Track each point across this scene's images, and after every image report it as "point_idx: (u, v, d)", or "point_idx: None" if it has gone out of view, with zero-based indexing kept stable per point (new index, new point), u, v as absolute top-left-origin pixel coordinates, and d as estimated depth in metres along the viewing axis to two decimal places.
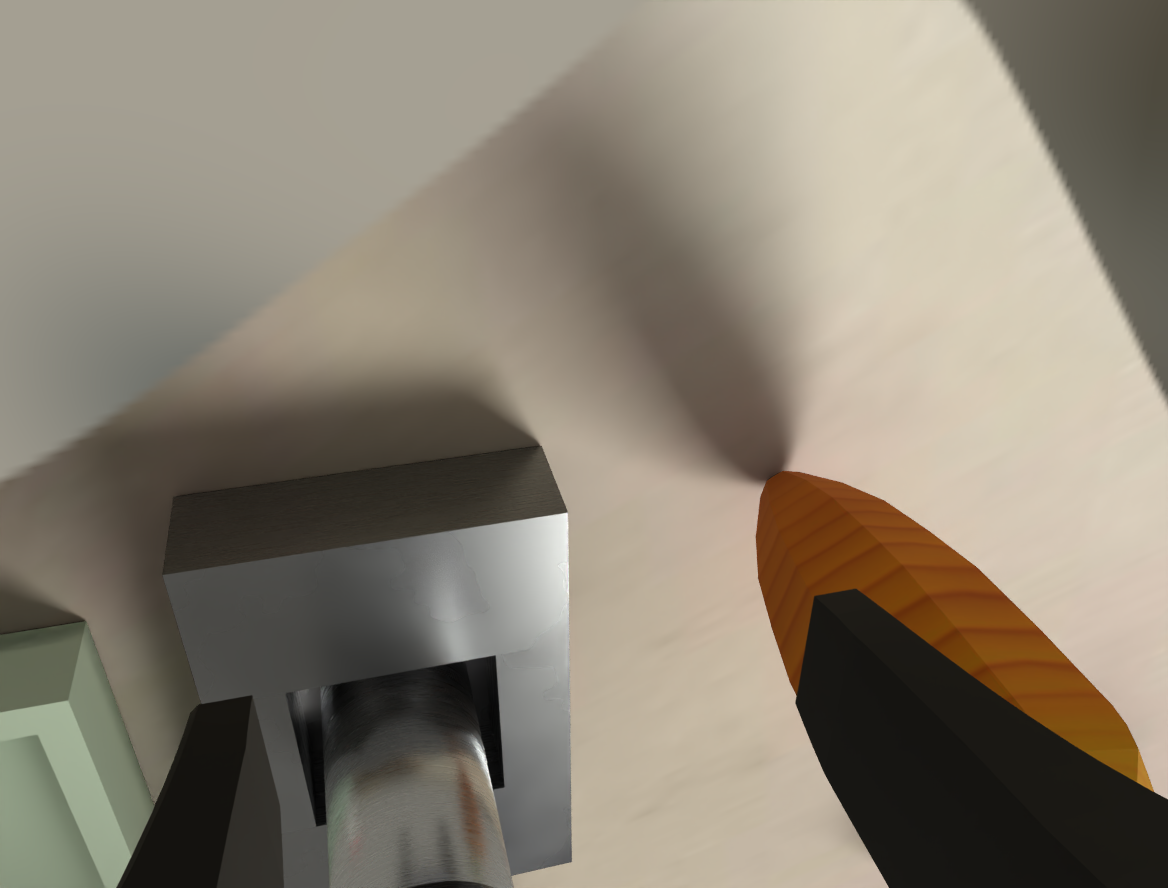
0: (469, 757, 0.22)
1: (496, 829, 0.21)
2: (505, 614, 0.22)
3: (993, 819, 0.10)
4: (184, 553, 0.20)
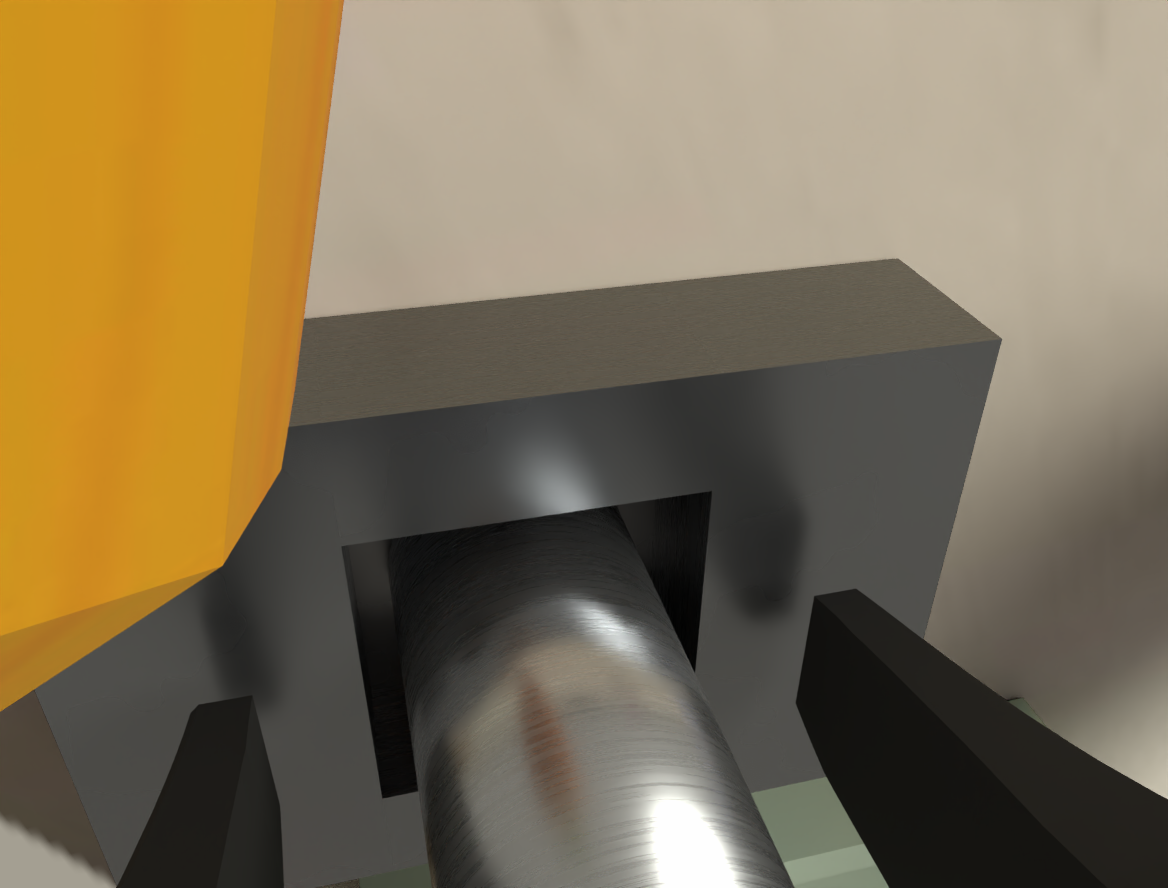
0: (464, 694, 0.11)
1: (532, 784, 0.10)
2: None
3: (993, 819, 0.10)
4: None
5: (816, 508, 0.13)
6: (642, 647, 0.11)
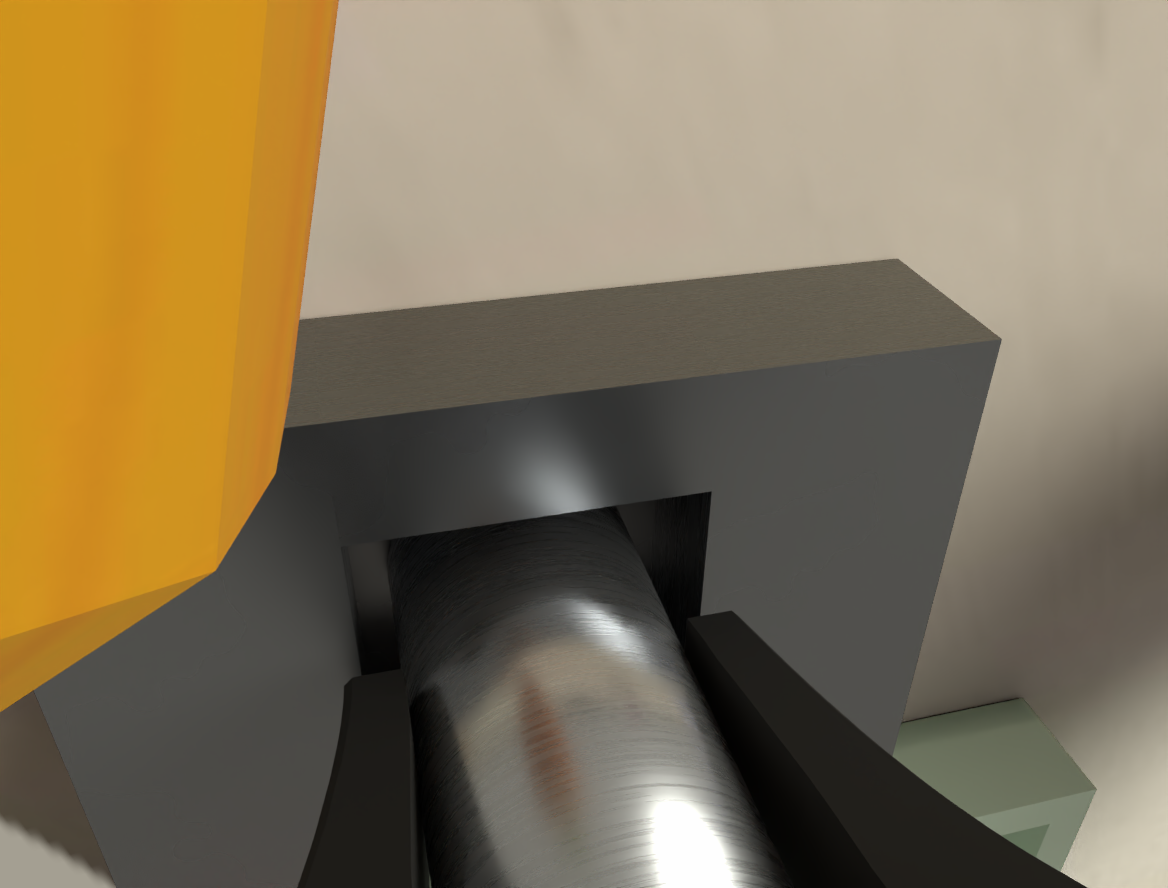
0: (463, 695, 0.11)
1: (532, 785, 0.10)
2: None
3: (833, 857, 0.10)
4: None
5: (816, 508, 0.13)
6: (642, 648, 0.11)
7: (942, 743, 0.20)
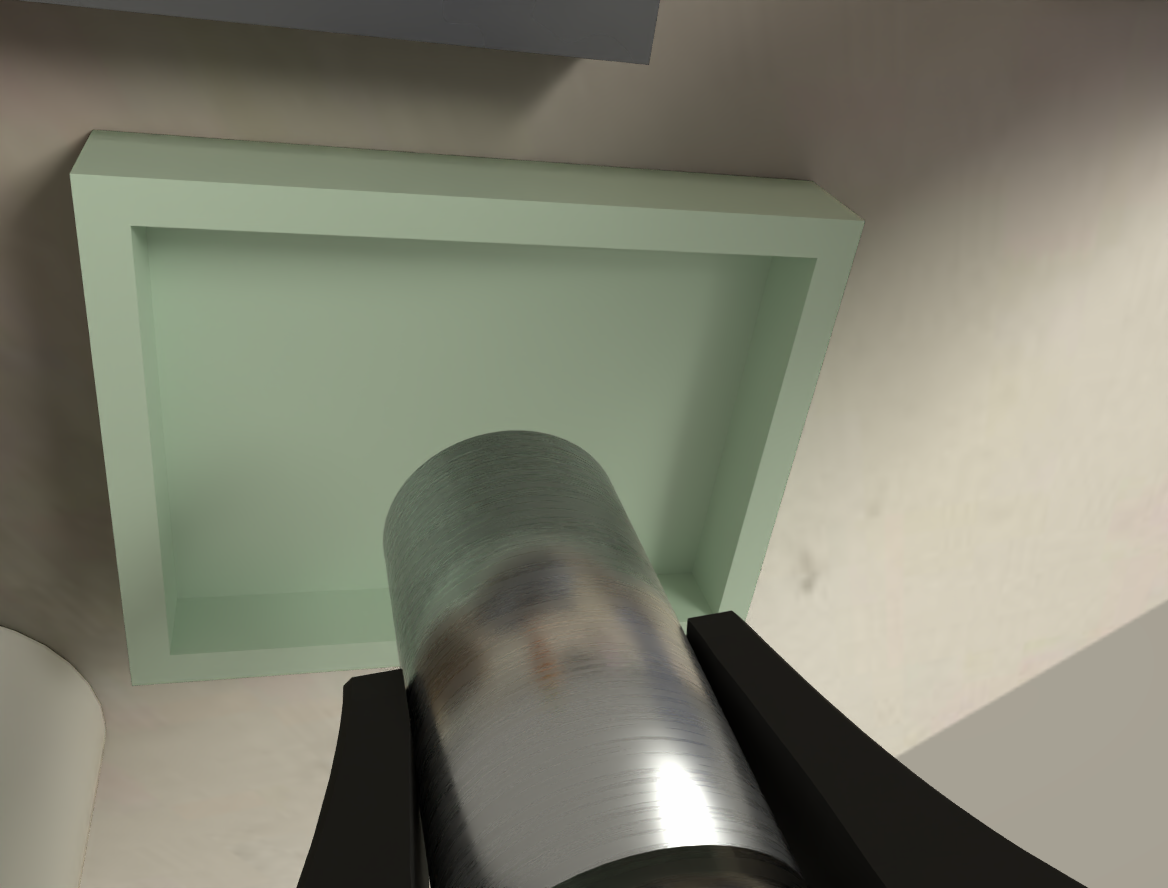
0: (450, 663, 0.11)
1: (514, 744, 0.10)
2: None
3: (834, 856, 0.10)
4: None
5: None
6: (627, 609, 0.11)
7: (723, 184, 0.20)
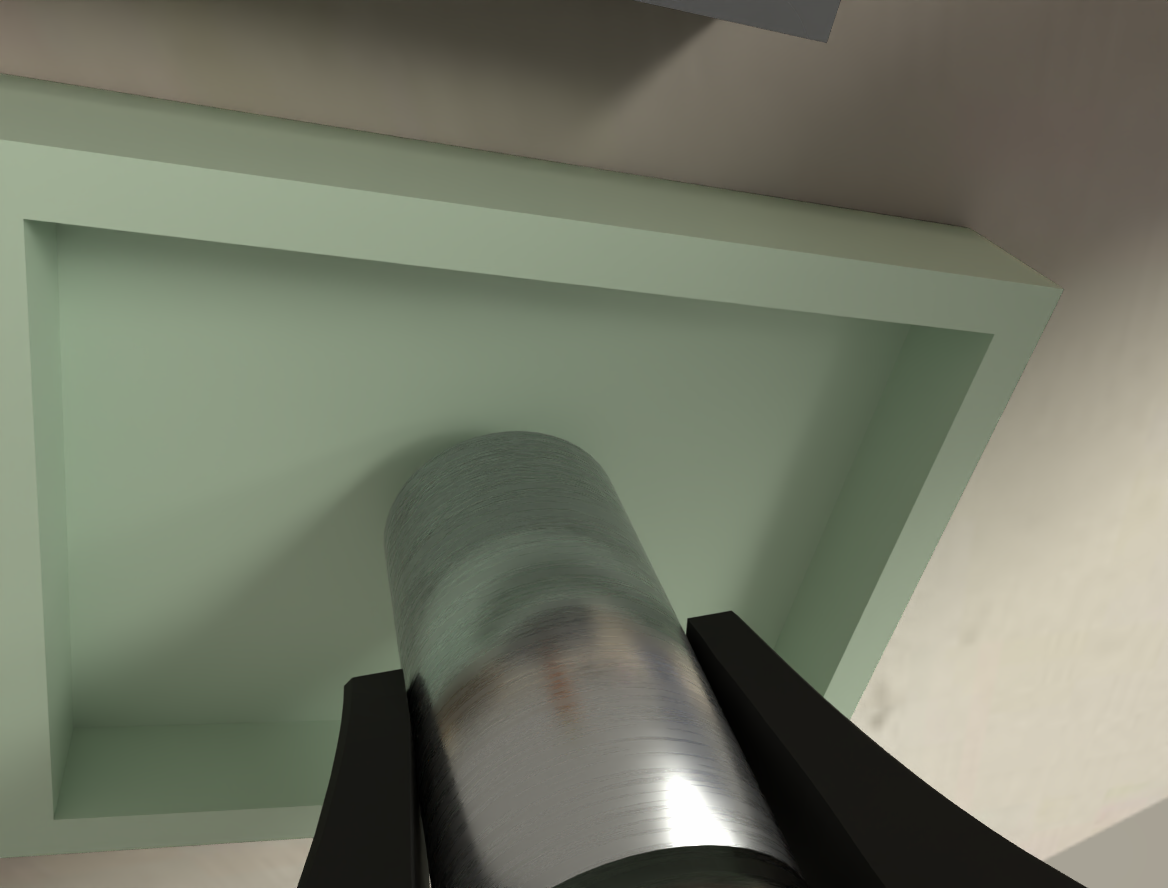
0: (450, 664, 0.11)
1: (514, 745, 0.10)
2: None
3: (833, 857, 0.10)
4: None
5: None
6: (627, 608, 0.11)
7: (868, 224, 0.15)
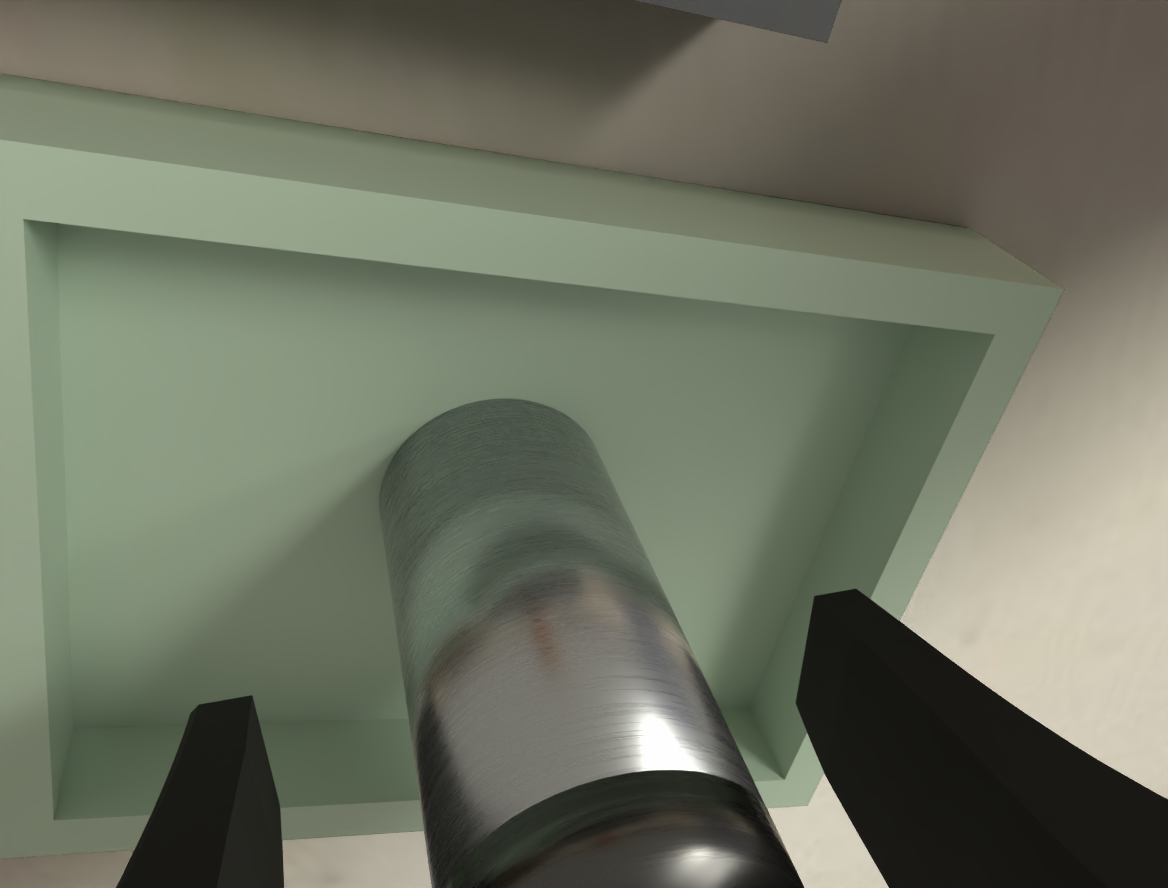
0: (440, 612, 0.12)
1: (498, 683, 0.11)
2: None
3: (993, 819, 0.10)
4: None
5: None
6: (606, 562, 0.12)
7: (868, 224, 0.15)
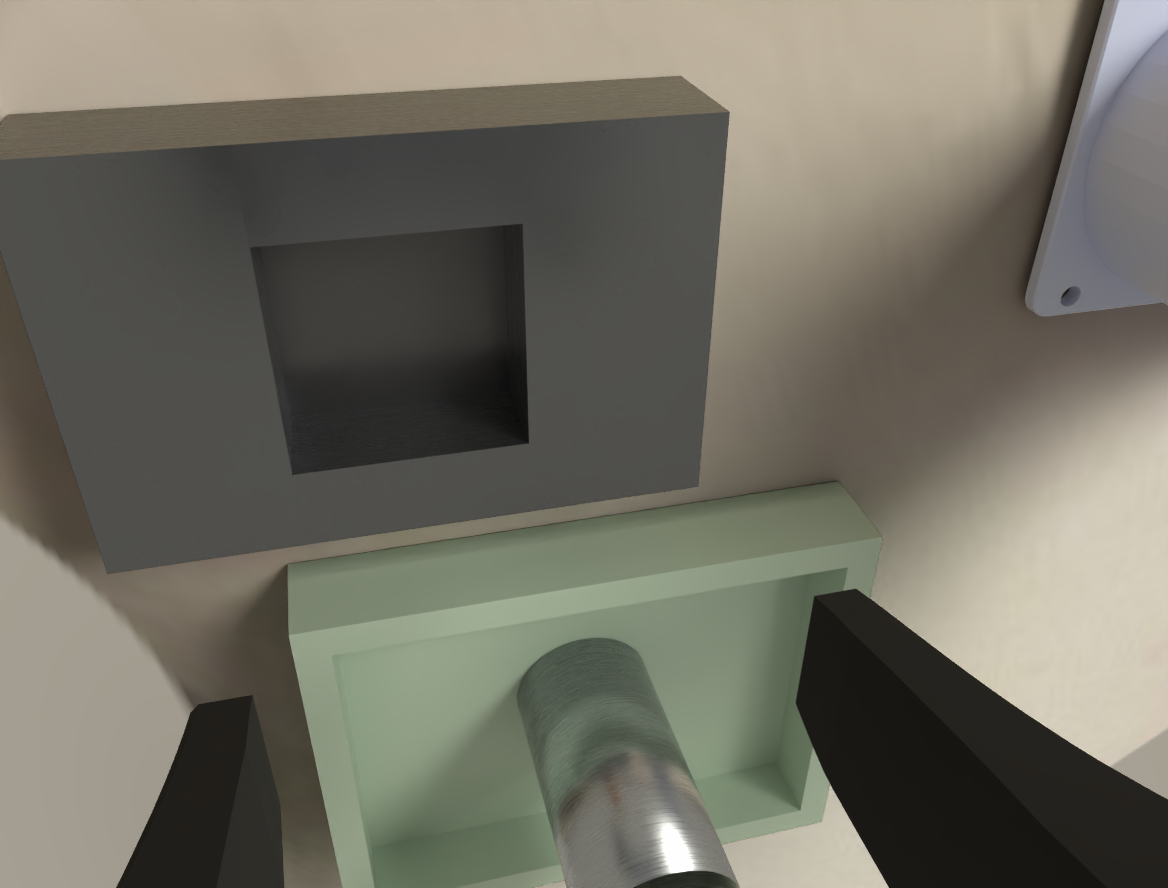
0: (561, 791, 0.23)
1: (593, 834, 0.22)
2: (171, 238, 0.16)
3: (993, 819, 0.10)
4: None
5: (605, 245, 0.18)
6: (640, 751, 0.23)
7: (766, 508, 0.25)
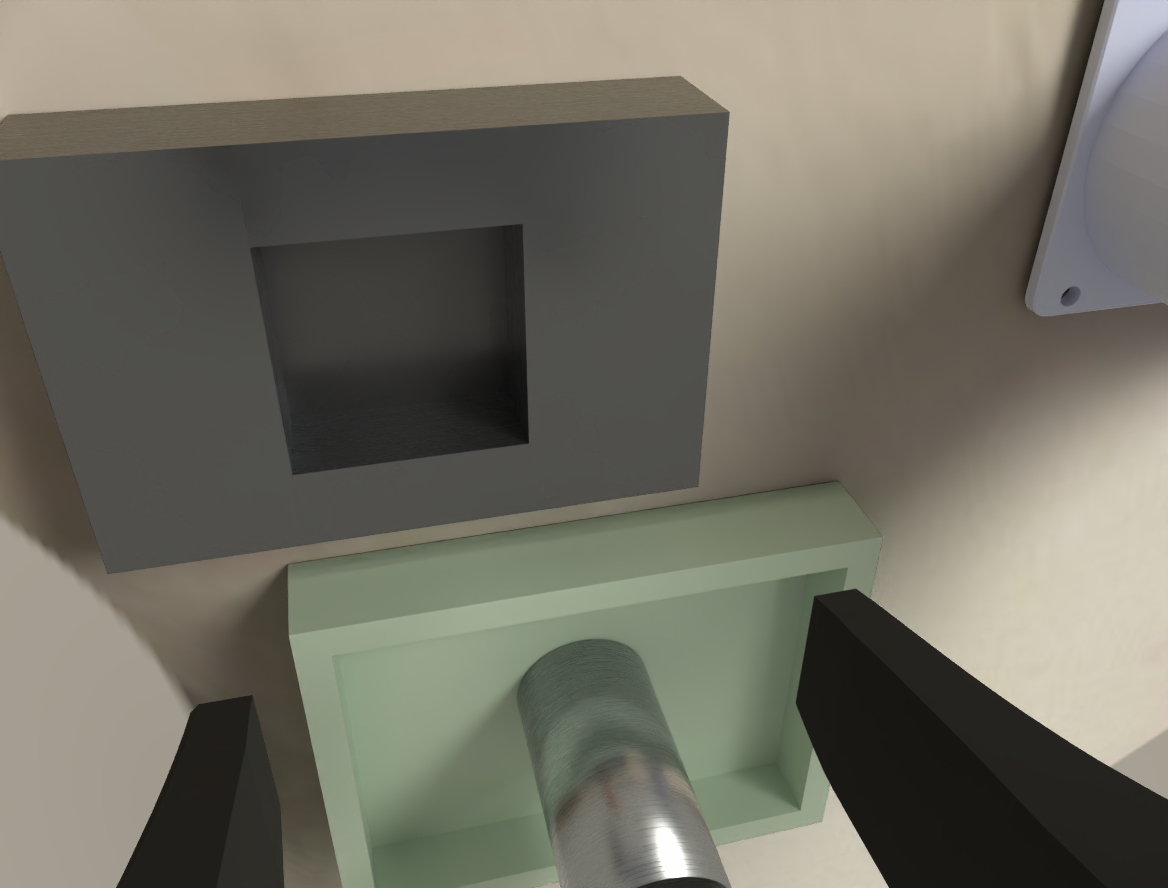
0: (557, 792, 0.23)
1: (588, 837, 0.22)
2: (171, 238, 0.16)
3: (993, 819, 0.10)
4: None
5: (605, 245, 0.18)
6: (638, 754, 0.23)
7: (766, 508, 0.25)
